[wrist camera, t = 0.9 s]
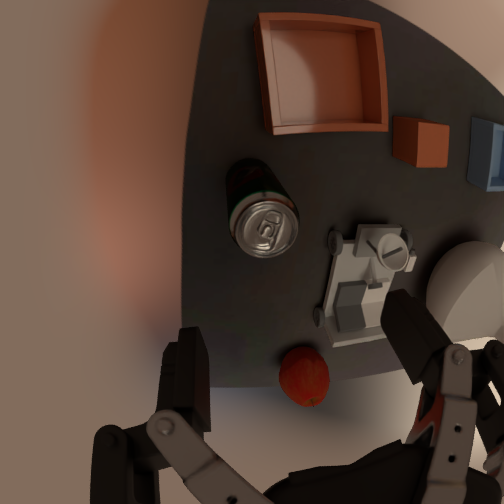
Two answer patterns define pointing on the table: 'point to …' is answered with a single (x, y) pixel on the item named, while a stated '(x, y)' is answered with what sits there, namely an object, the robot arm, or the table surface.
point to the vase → (469, 292)
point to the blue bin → (486, 155)
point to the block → (420, 142)
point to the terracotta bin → (320, 73)
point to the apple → (304, 376)
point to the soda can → (259, 210)
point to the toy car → (362, 281)
